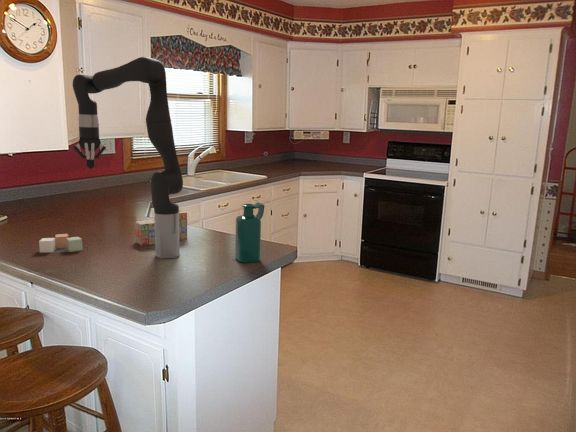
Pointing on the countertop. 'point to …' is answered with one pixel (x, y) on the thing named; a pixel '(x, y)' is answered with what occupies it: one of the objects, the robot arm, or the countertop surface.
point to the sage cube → (74, 244)
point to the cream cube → (47, 244)
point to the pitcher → (248, 234)
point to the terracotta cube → (61, 240)
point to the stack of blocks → (147, 230)
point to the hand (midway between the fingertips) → (91, 168)
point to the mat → (59, 250)
